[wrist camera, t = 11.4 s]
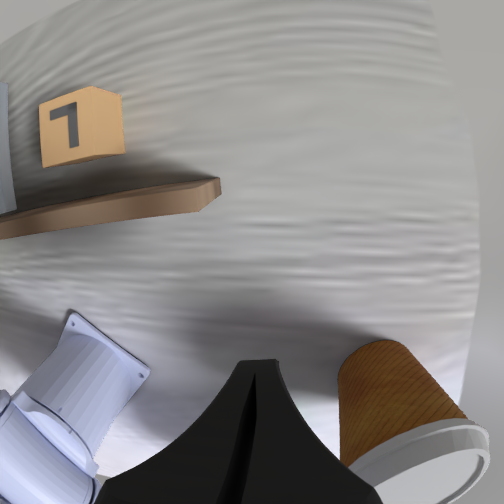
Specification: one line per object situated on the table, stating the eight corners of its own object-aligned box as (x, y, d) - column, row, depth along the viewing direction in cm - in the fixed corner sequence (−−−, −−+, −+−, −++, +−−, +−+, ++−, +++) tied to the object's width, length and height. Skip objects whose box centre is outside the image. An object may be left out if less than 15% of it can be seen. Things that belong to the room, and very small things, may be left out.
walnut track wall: (219, 177, 19) (195, 188, 13) (221, 194, 19) (198, 211, 13) (-2, 217, 21) (-52, 236, 15) (0, 228, 21) (-49, 249, 15)
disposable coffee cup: (331, 425, 24) (347, 542, 13) (302, 345, 22) (318, 489, 11) (431, 390, 23) (482, 492, 11) (424, 302, 20) (512, 411, 9)
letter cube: (121, 95, 18) (89, 85, 14) (125, 153, 19) (93, 154, 15) (73, 109, 18) (37, 104, 14) (77, 163, 19) (41, 168, 15)
